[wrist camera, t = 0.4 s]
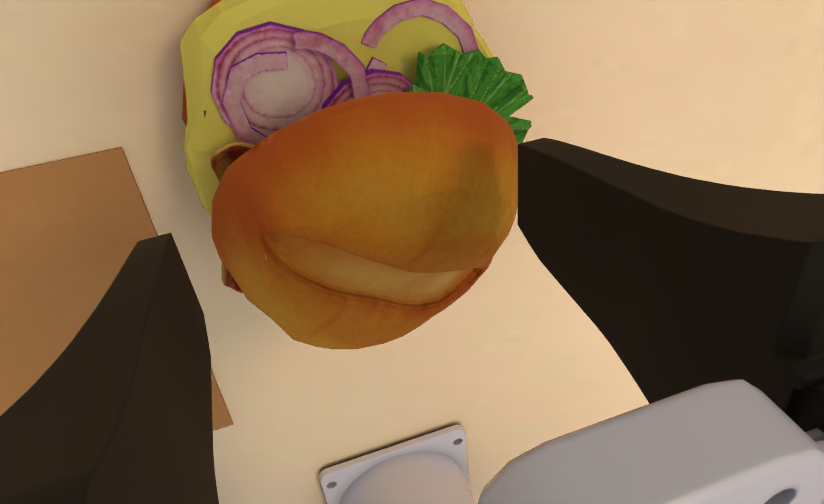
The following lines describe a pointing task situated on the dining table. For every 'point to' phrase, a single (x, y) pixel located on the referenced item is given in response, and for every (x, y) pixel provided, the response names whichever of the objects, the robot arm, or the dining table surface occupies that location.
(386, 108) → the cheeseburger
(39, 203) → the placemat
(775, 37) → the dining table surface
